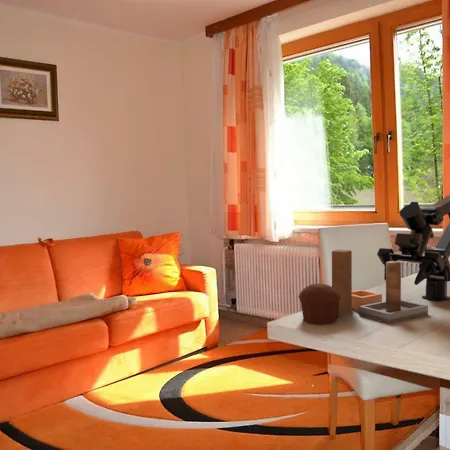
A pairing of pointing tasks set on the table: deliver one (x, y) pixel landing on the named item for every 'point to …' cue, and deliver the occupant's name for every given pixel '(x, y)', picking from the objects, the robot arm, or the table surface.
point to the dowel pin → (393, 286)
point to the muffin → (319, 304)
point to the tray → (406, 312)
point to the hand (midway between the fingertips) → (400, 282)
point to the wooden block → (342, 279)
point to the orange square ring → (364, 298)
